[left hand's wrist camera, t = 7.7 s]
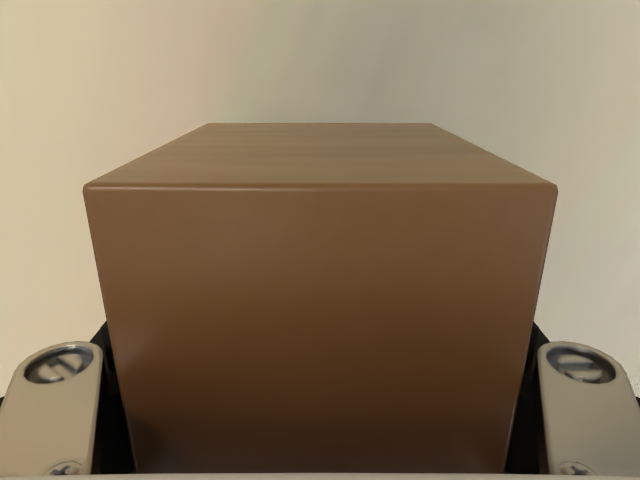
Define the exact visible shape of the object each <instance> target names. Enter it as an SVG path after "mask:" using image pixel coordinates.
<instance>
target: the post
mask: <svg viewBox="0 0 640 480" xmlns="http://www.w3.org/2000/svg"><path fill="white" fill-rule="evenodd" d="M557 195H558V189H557V186H556V185H555V184H553V183H551V182H549V181H547V180H545V179H543V178H541V177H539V176H537V175H535V174H533V173H531V172H528V171H526V170H524V169H522V168H520V167H518V166H516V165H514V164H512V163H510V162H508V161H506V160H504V159H502V158H500V157H498V156H496V155H494V154H492V153H490V152H488V151H486V150H484V149H482V148H480V147H478V146H476V145H474V144H472V143H470V142H468V141H466V140H464V139H462V138H459V137H457V136H455V135H453V134H451V133H449V132H447V131H445V130H443V129H441V128H439V127H437V126H435V125H433V124H431V123H208V124H206V125H204V126H202V127H200V128H198V129H196V130H194V131H192V132H190V133H188V134H186V135H184V136H181V137H179V138H177V139H175V140H173V141H171V142H169V143H167V144H165V145H163V146H161V147H159V148H157V149H155V150H153V151H151V152H149V153H147V154H145V155H143V156H141V157H139V158H137V159H135V160H133V161H131V162H129V163H127V164H125V165H123V166H121V167H119V168H117V169H115V170H113V171H111V172H109V173H107V174H105V175H103V176H101V177H99V178H97V179H95V180H93V181H91V182H89V183H87V184H85V185H84V187H83V196H84V201H85V206H86V212H87V217H88V223H89V228H90V233H91V239H92V244H93V249H94V255H95V260H96V265H97V271H98V276H99V281H100V287H101V292H102V298H103V303H104V308H105V314H106V319H107V324H108V330H109V335H110V340H111V346H112V351H113V357H114V362H115V367H116V373H117V378H118V383H119V389H120V394H121V399H122V405H123V410H124V416H125V421H126V426H127V432H128V437H129V442H130V448H131V453H132V458H133V464H134V469H135V474H180V473H460V474H504V473H505V467H506V462H507V457H508V452H509V446H510V441H511V436H512V431H513V425H514V420H515V415H516V410H517V404H518V399H519V394H520V389H521V383H522V378H523V373H524V368H525V362H526V357H527V352H528V347H529V341H530V336H531V331H532V326H533V321H534V315H535V310H536V305H537V300H538V294H539V289H540V284H541V279H542V273H543V268H544V263H545V258H546V252H547V247H548V242H549V237H550V231H551V226H552V221H553V216H554V210H555V205H556V200H557Z"/></svg>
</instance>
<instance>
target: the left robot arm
mask: <svg viewBox="0 0 640 480" xmlns="http://www.w3.org/2000/svg"><path fill="white" fill-rule="evenodd" d="M0 480H640V398H638V397H636V396H635V394H634V392H633V389H632V387H631V384H630V382H629V379H628V376H627V374H626V372H625V370H624V369H623V367H622V366H621V364H619V363H618V362H617V361H616V360H615V359H614V358H612V357H611V356H609V355H607V354H605V353H604V352H602V351H600V350H597V349H595V348H592V347H590V346H587V345H583V344H579V343H575V342H566V341H558V342H550V341H549V340H548V339H547V338H546V336H545V335H544V334H543V333H542V332H541V330H540V329H539V327H538V326H537V325H536V324H535V322H534V321H533V326H532V331H531V336H530V341H529V347H528V352H527V357H526V362H525V368H524V373H523V378H522V383H521V389H520V394H519V399H518V404H517V410H516V415H515V420H514V425H513V431H512V436H511V441H510V446H509V452H508V457H507V462H506V467H505V473H504V474H460V473H180V474H135V469H134V464H133V458H132V453H131V448H130V442H129V437H128V432H127V426H126V421H125V416H124V410H123V405H122V399H121V394H120V389H119V383H118V378H117V373H116V367H115V362H114V357H113V351H112V346H111V340H110V335H109V330H108V324H107V321H106V322H105V323H104V324H103V325H102V327H101V328H100V330H99V331H98V332H97V333H96V335H95V336H94V337H93V338H92V339H91V341H90V342H82V341H74V342H65V343H61V344H57V345H53V346H50V347H48V348H45V349H43V350H40V351H38V352H36V353H35V354H33V355H31V356H29V357H28V358H26V359H25V360H24V361H23V362H22V363H21V364H19V366H18V367H17V369H16V370H15V372H14V374H13V376H12V379H11V382H10V384H9V387H8V389H7V392H6V394H5V396H4V397H1V398H0Z"/></svg>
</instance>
